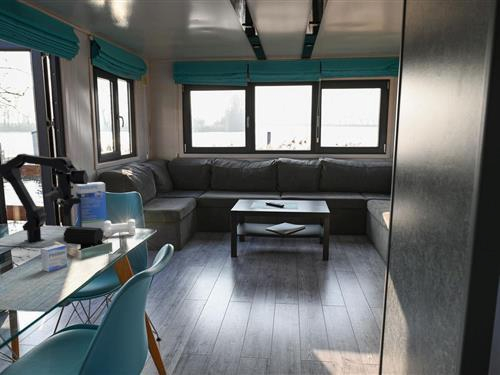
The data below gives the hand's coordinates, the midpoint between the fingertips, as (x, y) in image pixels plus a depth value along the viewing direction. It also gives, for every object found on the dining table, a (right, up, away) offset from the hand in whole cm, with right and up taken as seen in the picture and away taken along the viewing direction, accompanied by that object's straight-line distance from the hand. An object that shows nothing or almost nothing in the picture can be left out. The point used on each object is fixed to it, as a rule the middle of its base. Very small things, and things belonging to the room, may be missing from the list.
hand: (66, 216), depth 183 cm
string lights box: (+5, -10, +18) cm, 21 cm away
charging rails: (+12, -14, -11) cm, 22 cm away
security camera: (+14, -14, -11) cm, 23 cm away
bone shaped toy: (+21, -11, +14) cm, 27 cm away
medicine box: (+12, -18, -33) cm, 39 cm away
